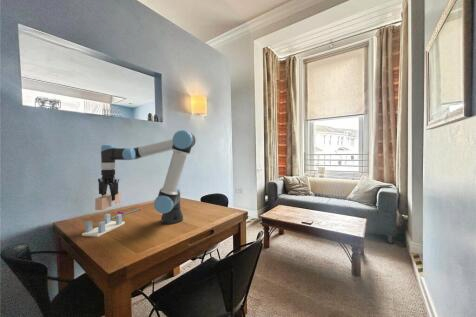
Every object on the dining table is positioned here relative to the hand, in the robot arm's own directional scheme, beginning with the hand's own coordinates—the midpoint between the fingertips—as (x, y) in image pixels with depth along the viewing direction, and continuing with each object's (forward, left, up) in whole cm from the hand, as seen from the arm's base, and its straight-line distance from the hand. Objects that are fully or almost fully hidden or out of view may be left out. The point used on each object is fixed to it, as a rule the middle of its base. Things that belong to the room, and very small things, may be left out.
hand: (108, 205), depth 129 cm
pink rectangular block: (0, 0, 0) cm, 1 cm away
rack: (+3, 0, -16) cm, 16 cm away
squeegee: (+18, -31, -17) cm, 39 cm away
